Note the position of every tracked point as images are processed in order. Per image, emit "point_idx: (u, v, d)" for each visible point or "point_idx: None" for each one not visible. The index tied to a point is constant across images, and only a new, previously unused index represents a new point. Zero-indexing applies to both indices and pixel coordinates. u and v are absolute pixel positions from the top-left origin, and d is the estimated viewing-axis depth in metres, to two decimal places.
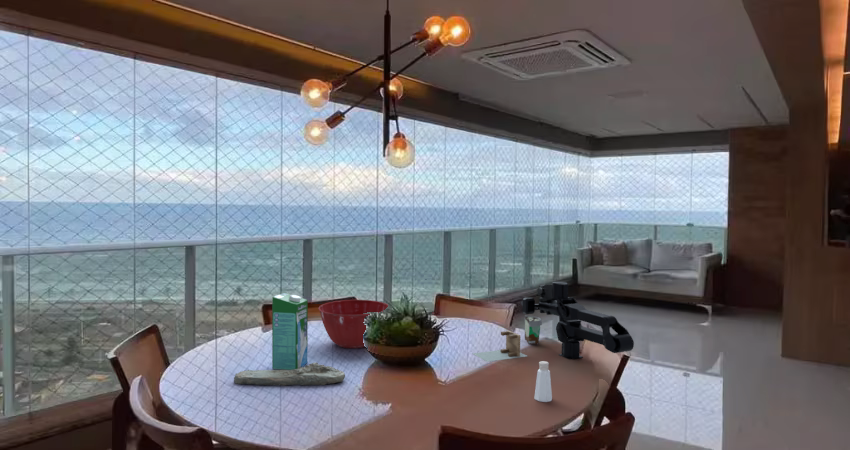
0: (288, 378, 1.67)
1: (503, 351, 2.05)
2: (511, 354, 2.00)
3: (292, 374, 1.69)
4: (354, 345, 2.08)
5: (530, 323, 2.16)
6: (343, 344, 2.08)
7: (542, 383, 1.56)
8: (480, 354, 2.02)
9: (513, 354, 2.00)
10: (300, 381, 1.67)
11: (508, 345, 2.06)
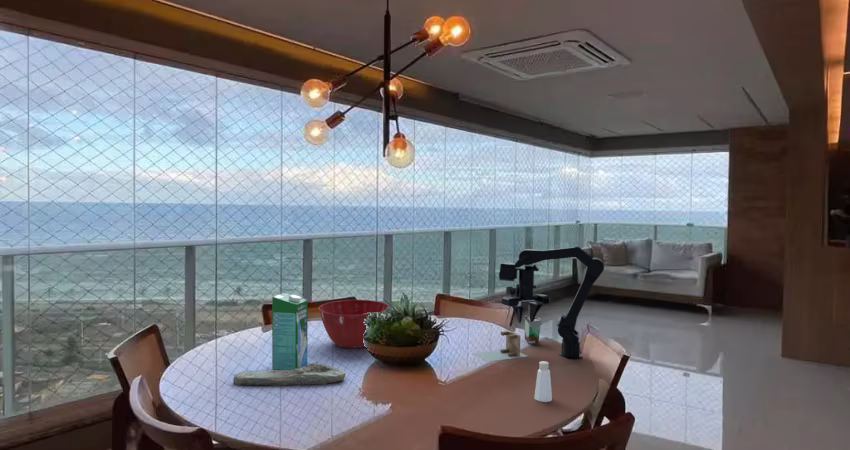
0: (289, 378, 1.67)
1: (503, 351, 2.05)
2: (511, 354, 2.00)
3: (293, 374, 1.69)
4: (354, 345, 2.08)
5: (530, 323, 2.16)
6: (343, 344, 2.08)
7: (542, 383, 1.56)
8: (480, 354, 2.02)
9: (513, 354, 2.00)
10: (301, 381, 1.67)
11: (508, 345, 2.06)
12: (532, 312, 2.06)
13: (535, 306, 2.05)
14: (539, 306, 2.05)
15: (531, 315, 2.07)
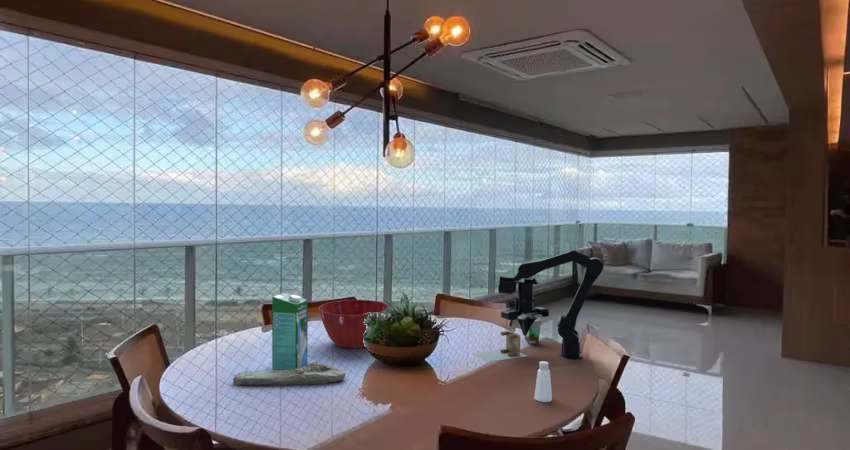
0: (289, 378, 1.67)
1: (503, 351, 2.05)
2: (511, 354, 2.00)
3: (293, 374, 1.69)
4: (354, 345, 2.08)
5: None
6: (343, 344, 2.08)
7: (542, 383, 1.56)
8: (480, 354, 2.02)
9: (513, 354, 2.00)
10: (302, 380, 1.67)
11: (508, 345, 2.06)
12: None
13: (529, 320, 2.04)
14: (533, 320, 2.04)
15: None
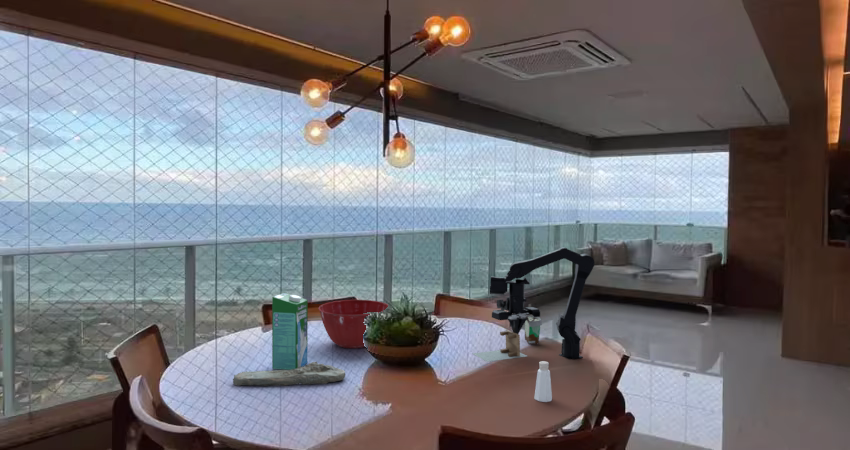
0: (289, 378, 1.67)
1: (503, 351, 2.05)
2: (511, 354, 2.00)
3: (293, 374, 1.69)
4: (354, 345, 2.08)
5: (530, 323, 2.16)
6: (343, 344, 2.08)
7: (542, 383, 1.56)
8: (480, 354, 2.02)
9: (513, 354, 2.00)
10: (302, 380, 1.67)
11: (508, 345, 2.06)
12: None
13: (520, 320, 2.03)
14: (524, 320, 2.02)
15: None
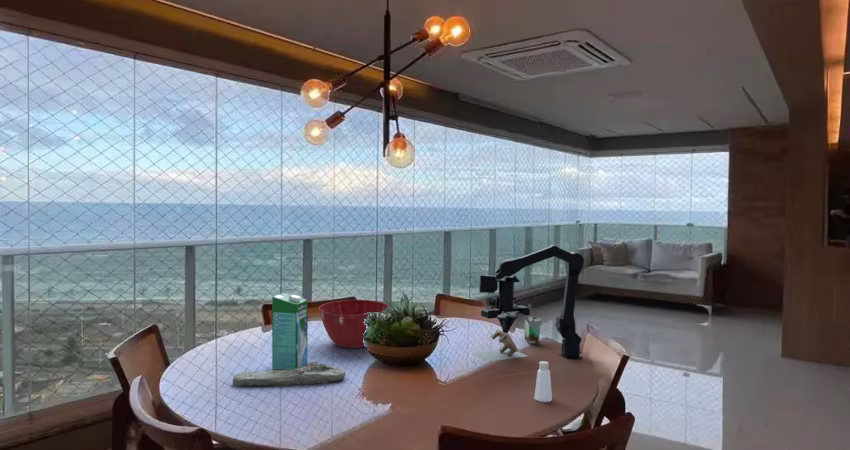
0: (290, 378, 1.67)
1: (502, 351, 2.04)
2: (510, 353, 2.00)
3: (293, 374, 1.69)
4: (354, 345, 2.08)
5: (530, 323, 2.16)
6: (343, 344, 2.08)
7: (542, 383, 1.56)
8: (480, 354, 2.02)
9: (512, 352, 2.00)
10: (302, 380, 1.67)
11: (504, 342, 2.05)
12: None
13: (509, 318, 2.01)
14: (513, 318, 2.00)
15: None
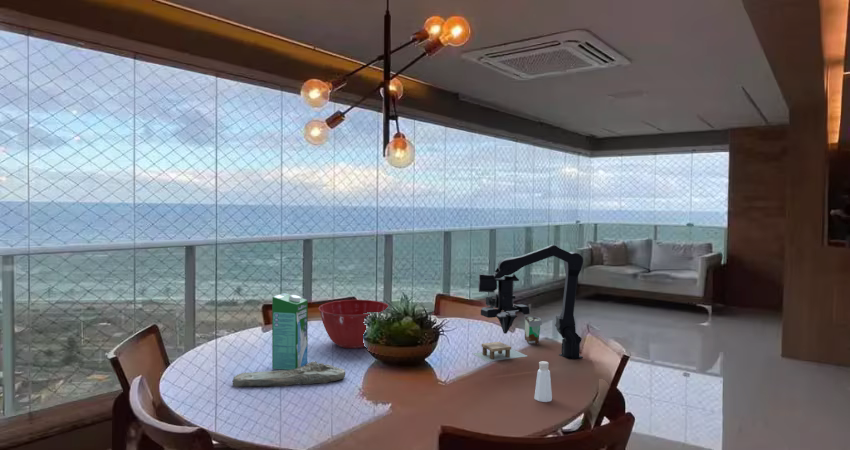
0: (290, 378, 1.67)
1: (500, 351, 2.04)
2: (507, 355, 1.99)
3: (293, 374, 1.69)
4: (354, 345, 2.08)
5: (530, 323, 2.16)
6: (343, 344, 2.08)
7: (542, 383, 1.56)
8: (480, 354, 2.02)
9: (508, 352, 1.99)
10: (303, 380, 1.67)
11: None
12: None
13: (509, 317, 2.00)
14: (513, 317, 2.00)
15: None
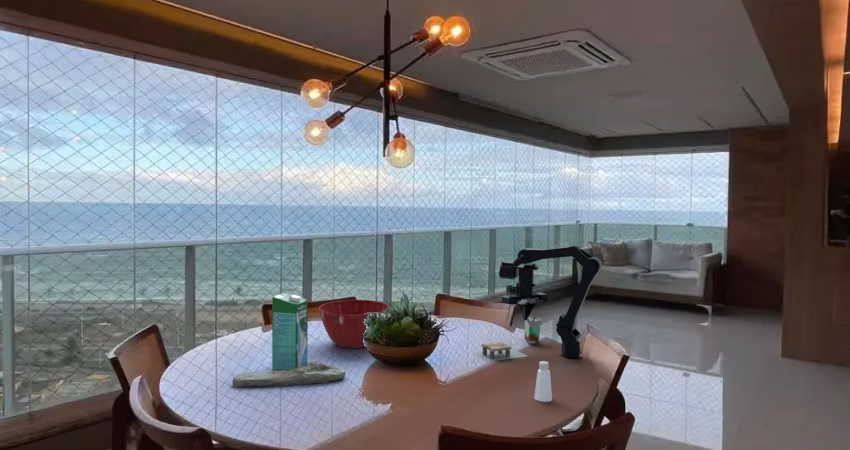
0: (291, 378, 1.67)
1: (500, 351, 2.04)
2: (507, 355, 1.99)
3: (294, 374, 1.69)
4: (354, 345, 2.08)
5: (530, 323, 2.16)
6: (343, 344, 2.08)
7: (542, 383, 1.56)
8: (480, 354, 2.02)
9: (508, 352, 1.99)
10: (303, 380, 1.68)
11: None
12: None
13: (529, 305, 2.08)
14: (533, 305, 2.07)
15: None
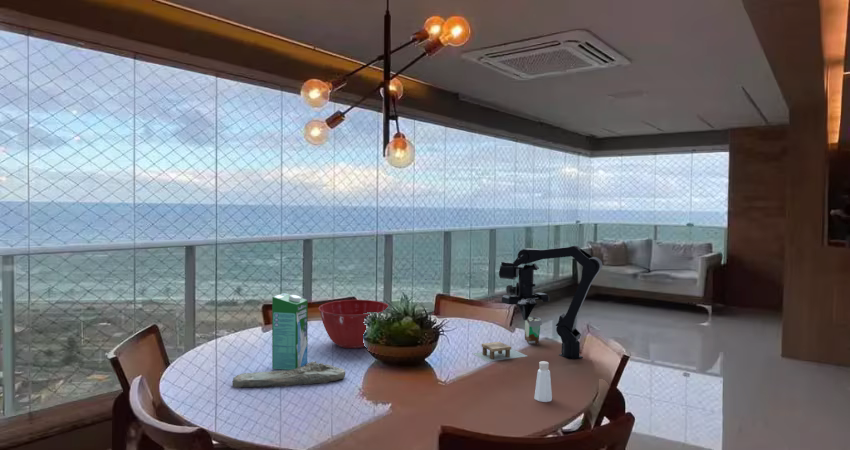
0: (291, 378, 1.67)
1: (500, 351, 2.04)
2: (507, 355, 1.99)
3: (294, 374, 1.69)
4: (354, 345, 2.08)
5: (530, 323, 2.16)
6: (343, 344, 2.08)
7: (542, 383, 1.56)
8: (480, 354, 2.02)
9: (508, 352, 1.99)
10: (304, 380, 1.68)
11: None
12: None
13: (529, 305, 2.08)
14: (533, 305, 2.07)
15: None
